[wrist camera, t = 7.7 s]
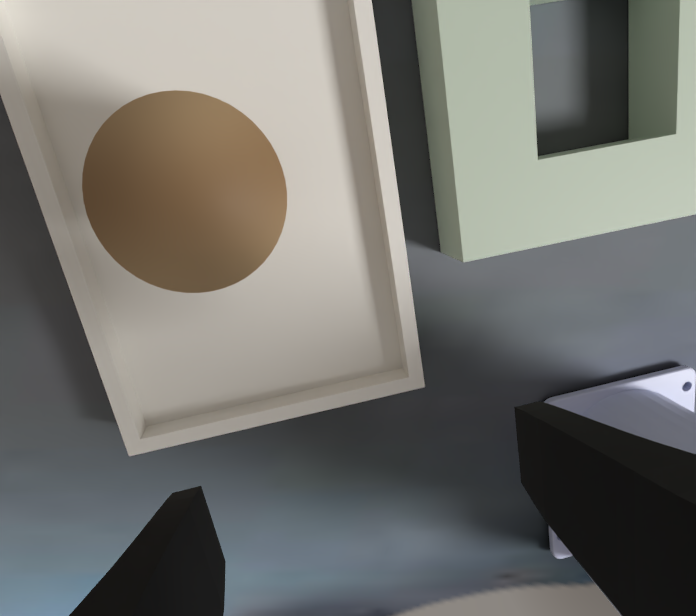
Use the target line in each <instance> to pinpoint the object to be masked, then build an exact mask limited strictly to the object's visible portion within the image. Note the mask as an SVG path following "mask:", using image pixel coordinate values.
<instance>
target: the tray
mask: <svg viewBox="0 0 696 616" xmlns="http://www.w3.org/2000/svg"><path fill="white" fill-rule="evenodd" d="M172 90H179V91H192V92H197V93H202V94H205V95H208V96H211V97H214V98H217V99H219V100H221V101H223V102H226V103H228V104H230V105H231V106H233V107H234V108H236V109H237V110H239V111H240V112H242V113H243V114H244V115H246V116H247V117H248V118H249V119H250V120H251V121H253V122H254V123H255V125H256V126H257V127H258V128H259V129H260V130H261V131H262V132H263V133H264V135H265V136H266V138H267V139H268V140H269V142H270V143H271V145H272V147H273V149H274V150H275V152H276V154H277V156H278V159H279V161H280V164H281V166H282V169H283V173H284V177H285V181H286V189H287V211H286V218H285V222H284V226H283V230H282V233H281V235H280V237H279V240H278V242H277V244H276V246H275V247H274V249H273V251H272V253H271V254H270V255H269V256H268V258H267V259H266V260H265V262H264V263H263V264H262V265H261V266H260V267H259V268H258V269H257V270H256V271H254V272H253V273H252V274H250V275H249V276H248V277H246V278H245V279H243V280H241V281H239V282H237V283H236V284H233V285H231V286H228V287H226V288H223V289H219V290H215V291H211V292H203V293H183V292H175V291H170V290H166V289H162V288H159V287H157V286H154V285H151V284H149V283H147V282H145V281H143V280H141V279H139V278H137V277H136V276H134V275H133V274H131V273H130V272H128V271H127V270H125V269H124V268H123V267H122V266H121V265H120V264H119V263H117V262H116V261H115V260H114V259H113V258H112V256H111V255H110V254H109V253H108V252H107V251H106V250H105V248H104V247H103V245H102V244H101V243H100V241H99V240H98V238H97V236H96V234H95V232H94V231H93V229H92V227H91V224H90V221H89V219H88V216H87V213H86V209H85V205H84V201H83V192H82V173H83V167H84V162H85V158H86V155H87V152H88V149H89V146H90V144H91V142H92V140H93V138H94V136H95V134H96V133H97V132H98V130H99V129H100V127H101V126H102V124H103V123H104V122H105V121H106V120H107V119H108V118H109V117H110V116H111V115H112V114H113V113H114V112H116V111H117V110H118V109H120V108H121V107H122V106H124V105H125V104H127V103H129V102H131V101H133V100H134V99H137V98H139V97H142V96H145V95H147V94H152V93H156V92H161V91H172ZM0 95H1V98H2V100H3V103H4V106H5V109H6V112H7V115H8V117H9V120H10V123H11V126H12V129H13V131H14V134H15V137H16V140H17V143H18V145H19V148H20V151H21V154H22V157H23V160H24V162H25V165H26V168H27V171H28V174H29V176H30V179H31V182H32V185H33V188H34V190H35V193H36V196H37V199H38V202H39V205H40V207H41V210H42V213H43V216H44V219H45V221H46V224H47V227H48V230H49V233H50V235H51V238H52V241H53V244H54V247H55V250H56V252H57V255H58V258H59V261H60V264H61V266H62V269H63V272H64V275H65V278H66V280H67V283H68V286H69V289H70V292H71V295H72V297H73V300H74V303H75V306H76V309H77V311H78V314H79V317H80V320H81V323H82V325H83V328H84V331H85V334H86V337H87V340H88V342H89V345H90V348H91V351H92V354H93V356H94V359H95V362H96V365H97V368H98V370H99V373H100V376H101V379H102V382H103V384H104V387H105V390H106V393H107V396H108V399H109V401H110V404H111V407H112V410H113V413H114V415H115V418H116V421H117V424H118V427H119V429H120V432H121V435H122V438H123V441H124V444H125V446H126V449H127V452H128V455H129V456H133V455H137V454H142V453H146V452H150V451H154V450H159V449H163V448H167V447H171V446H176V445H180V444H184V443H189V442H193V441H197V440H201V439H206V438H210V437H214V436H218V435H223V434H227V433H231V432H236V431H240V430H244V429H248V428H253V427H257V426H261V425H265V424H270V423H274V422H278V421H283V420H287V419H291V418H295V417H300V416H304V415H308V414H312V413H317V412H321V411H325V410H330V409H334V408H338V407H342V406H347V405H351V404H355V403H360V402H364V401H368V400H372V399H377V398H381V397H385V396H389V395H394V394H398V393H402V392H407V391H411V390H415V389H419V388H424V387H425V383H424V376H423V369H422V361H421V354H420V347H419V340H418V332H417V325H416V318H415V311H414V303H413V296H412V289H411V282H410V274H409V267H408V260H407V253H406V245H405V238H404V231H403V224H402V217H401V209H400V202H399V195H398V188H397V180H396V173H395V166H394V159H393V151H392V144H391V137H390V130H389V122H388V115H387V108H386V101H385V93H384V86H383V79H382V72H381V64H380V57H379V50H378V43H377V36H376V28H375V21H374V14H373V7H372V0H0Z"/></svg>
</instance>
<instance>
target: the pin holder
mask: <svg viewBox="0 0 696 616" xmlns="http://www.w3.org/2000/svg"><path fill="white" fill-rule="evenodd" d="M411 1H412V10H413V19H414V27H415V36H416V44H417V53H418V61H419V70H420V78H421V87H422V96H423V104H424V113H425V121H426V130H427V138H428V147H429V156H430V164H431V173H432V181H433V190H434V198H435V207H436V215H437V224H438V233H439V241H440V250H441V253H443V254H445V255H448V256H450V257H452V258H455V259H457V260H459V261H461V262H468V261H473V260H477V259H482V258H487V257H492V256H497V255H501V254H506V253H511V252H516V251H521V250H525V249H530V248H535V247H540V246H545V245H550V244H554V243H559V242H564V241H569V240H574V239H578V238H583V237H588V236H593V235H598V234H603V233H607V232H612V231H617V230H622V229H627V228H631V227H636V226H641V225H646V224H651V223H656V222H660V221H665V220H670V219H675V218H680V217H684V216H689V215H694V214H696V0H629V139H627V140H622V141H617V142H611V143H606V144H600V145H595V146H590V147H584V148H579V149H574V150H568V151H563V152H558V153H552V154H547V155H542V156H538V153H537V135H536V116H535V97H534V79H533V60H532V41H531V22H530V5H536V4H543V3H549V2H556V1H563V0H411Z"/></svg>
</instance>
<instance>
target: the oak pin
mask: <svg viewBox="0 0 696 616" xmlns="http://www.w3.org/2000/svg"><path fill="white" fill-rule="evenodd" d="M82 192H83V201H84V205H85V209H86V213H87V216H88V219H89V221H90V224H91V227H92V229H93V231H94V232H95V234H96V236H97V238H98V240H99V241H100V243H101V244H102V245H103V247H104V248H105V250H106V251H107V252H108V253H109V254H110V255H111V256H112V258H113V259H114V260H115V261H116V262H117V263H119V264H120V265H121V266H122V267H123V268H124V269H125V270H127V271H128V272H130V273H131V274H133V275H134V276H136V277H137V278H139V279H141V280H143V281H145V282H147V283H149V284H151V285H154V286H157V287H159V288H162V289H166V290H170V291H175V292H183V293H203V292H211V291H215V290H219V289H223V288H226V287H228V286H231V285H233V284H236V283H237V282H239V281H241V280H243V279H245V278H246V277H248V276H249V275H250V274H252V273H253V272H254V271H256V270H257V269H258V268H259V267H260V266H261V265H262V264H263V263H264V262H265V260H266V259H267V258H268V256H269V255H270V254H271V253H272V251H273V249H274V247H275V246H276V244H277V242H278V240H279V237H280V235H281V233H282V230H283V226H284V222H285V218H286V211H287V189H286V181H285V177H284V173H283V169H282V166H281V164H280V161H279V159H278V156H277V154H276V152H275V150H274V149H273V147H272V145H271V143H270V142H269V140H268V139H267V138H266V136H265V135H264V133H263V132H262V131H261V130H260V129H259V128H258V127H257V126H256V125H255V123H254V122H253V121H251V120H250V119H249V118H248V117H247V116H246V115H244V114H243V113H242V112H240V111H239V110H237V109H236V108H234V107H233V106H231V105H230V104H228V103H226V102H223V101H221V100H219V99H217V98H214V97H211V96H208V95H205V94H202V93H197V92H192V91H179V90H172V91H161V92H156V93H152V94H147V95H145V96H142V97H139V98H137V99H134V100H133V101H131V102H129V103H127V104H125V105H124V106H122V107H121V108H120V109H118V110H117V111H116V112H114V113H113V114H112V115H111V116H110V117H109V118H108V119H107V120H106V121H105V122H104V123H103V124H102V126H101V127H100V129H99V130H98V132H97V133H96V134H95V136H94V138H93V140H92V142H91V144H90V146H89V149H88V152H87V155H86V158H85V162H84V167H83V173H82Z"/></svg>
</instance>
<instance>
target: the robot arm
mask: <svg viewBox="0 0 696 616" xmlns="http://www.w3.org/2000/svg"><path fill="white" fill-rule="evenodd" d="M695 378H696V374H695V371H694V369H692V368H690V367H688V366H686V365H682V366H678V367H674V368H670V369H665V370H661V371H657V372H653V373H649V374H645V375H641V376H637V377H633V378H628V379H624V380H620V381H616V382H612V383H608V384H604V385H600V386H596V387H591V388H587V389H583V390H579V391H575V392H571V393H567V394H563V395H559V396H554V397H550V398H548V399H547V400H545V401H544V402H540V401H538V402H534V403H530V404H526V405H522V406H518V407H515V418H516V429H517V440H518V451H519V462H520V473H521V483H522V484H523V486H524V487H525V489H526V491H527V492H528V494H529V496H530V497H531V499H532V501H533V502H534V504H535V506H536V507H537V509H538V510H539V512H540V513H541V515H542V516H543V518H544V520H545V521H546V522H547V524H548V525H549V541H550V551H551V553H552V554H553V555H554V556H555V557H556V558H558V559H561V558H566V557H569V556H574V557H575V559H576V560H577V561H578V562H579V564H580V565H581V566H582V567H583V569H584V570H585V571H586V572H587V574H588V575H589V576H590V577H591V579H592V580H593V581H594V582H595V584H596V585H597V586H598V587H599V589H600V590H601V591H602V592H603V593H604V595H605V596H606V597H607V599H608V600H609V601H610V602H611V604H612V605H613V606H614V607H615V609H616V610H617V611H618V612H619V613H620V615H621V616H696V413H694V401H695ZM684 383H685V384H684ZM683 384H684V386H683ZM682 386H683V387H682ZM224 594H225V559H224V556H223V553H222V549H221V546H220V543H219V540H218V537H217V534H216V531H215V528H214V525H213V522H212V518H211V515H210V512H209V509H208V506H207V503H206V500H205V497H204V494H203V491H202V487H201V486H199V487H195V488H191V489H187V490H183V491H179V492H175V493H172V494H171V495H170V497H169V498H168V499H167V500H166V501H165V502H164V504H163V505H162V506H161V507H160V509H159V510H158V511H157V512H156V513H155V515H154V516H153V517H152V519H151V520H150V521H149V522H148V524H147V525H146V526H145V527H144V529H143V530H142V531H141V532H140V534H139V535H138V536H137V537H136V538H135V540H134V541H133V542H132V543H131V545H130V546H129V547H128V548H127V549H126V551H125V552H124V553H123V554H122V556H121V557H120V558H119V559H118V560H117V562H116V563H115V564H114V565H113V567H112V568H111V569H110V570H109V571H108V572H107V573H106V575H105V576H104V577H103V578H102V579H101V580H100V581H99V582H98V584H97V585H96V586H95V587H94V588H93V589H92V590H91V592H90V593H89V594H88V595H87V596H86V597H85V598H84V599H83V601H82V602H81V603H80V604H79V605H78V606H77V607H76V608H75V610H74V611H73V612H72V613H71V614H70V615H69V616H223V613H224Z"/></svg>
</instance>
